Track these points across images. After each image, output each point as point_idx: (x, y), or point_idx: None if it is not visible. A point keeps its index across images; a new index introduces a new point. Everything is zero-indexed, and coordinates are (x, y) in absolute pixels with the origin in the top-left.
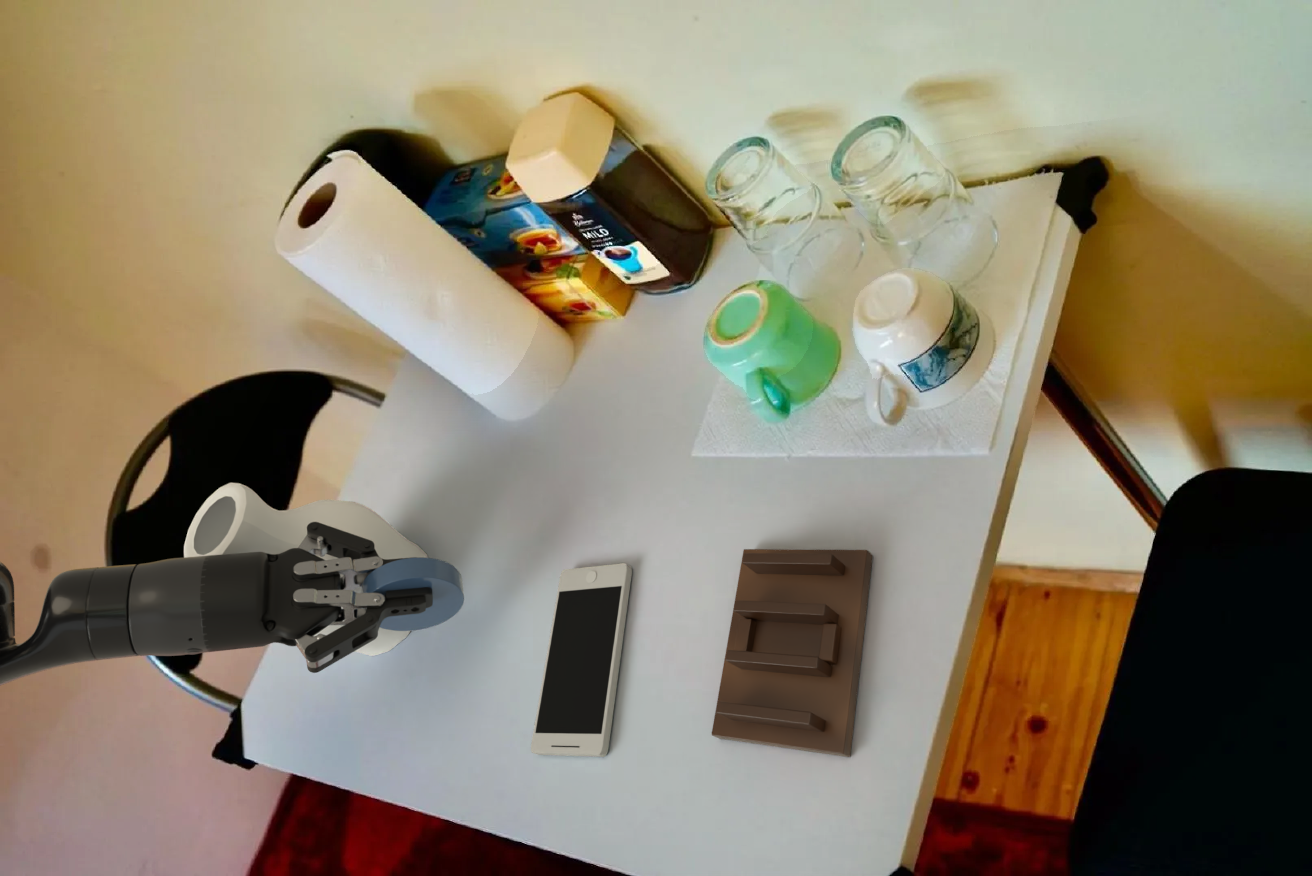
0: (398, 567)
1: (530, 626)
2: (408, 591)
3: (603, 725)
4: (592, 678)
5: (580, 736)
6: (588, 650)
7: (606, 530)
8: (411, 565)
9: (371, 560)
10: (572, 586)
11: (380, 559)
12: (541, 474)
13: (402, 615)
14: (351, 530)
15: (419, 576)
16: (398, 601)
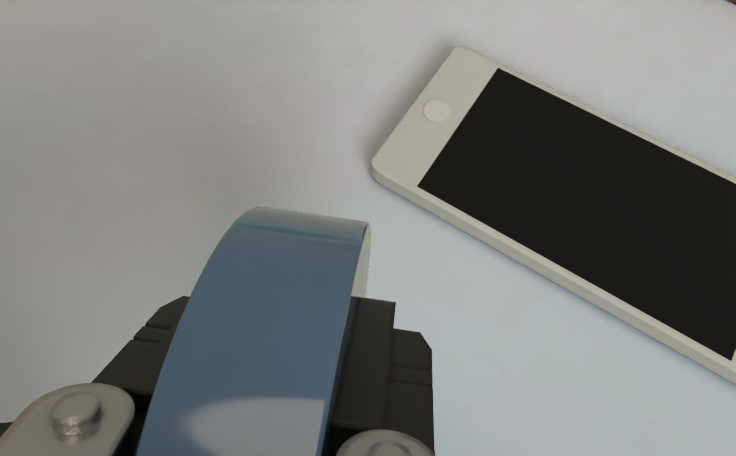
0: (260, 270)
1: (426, 309)
2: (367, 344)
3: None
4: (659, 185)
5: None
6: (593, 173)
7: (338, 76)
8: (284, 228)
9: (40, 432)
10: (427, 154)
11: (78, 389)
12: (67, 152)
13: None
14: None
15: (361, 228)
16: (399, 409)
